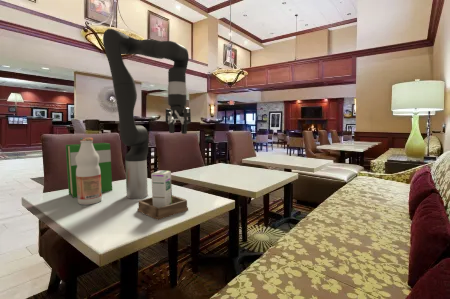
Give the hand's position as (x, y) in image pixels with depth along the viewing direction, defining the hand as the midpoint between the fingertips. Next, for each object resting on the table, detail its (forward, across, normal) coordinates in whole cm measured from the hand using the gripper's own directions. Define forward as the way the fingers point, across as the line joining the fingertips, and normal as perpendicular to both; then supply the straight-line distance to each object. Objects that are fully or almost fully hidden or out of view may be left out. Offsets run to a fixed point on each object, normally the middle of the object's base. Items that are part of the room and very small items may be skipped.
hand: (177, 133), depth 105 cm
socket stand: (+30, +3, -10) cm, 32 cm away
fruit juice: (+30, -30, -26) cm, 50 cm away
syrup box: (+29, +2, -10) cm, 31 cm away
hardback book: (+30, -45, -20) cm, 58 cm away
